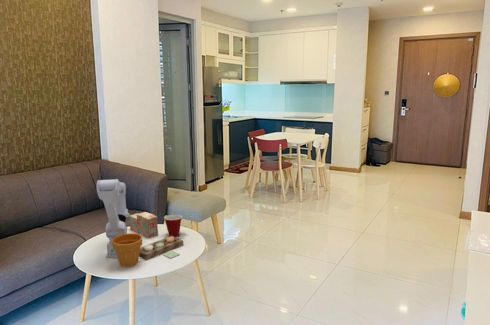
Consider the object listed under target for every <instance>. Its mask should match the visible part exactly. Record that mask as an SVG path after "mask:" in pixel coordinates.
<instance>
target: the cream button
mask: <svg viewBox="0 0 490 325" xmlns="http://www.w3.org/2000/svg"><path fill="white" fill-rule="evenodd" d="M143 246H144V251H146V252H149V251H152V250H153V245H148V244H146V245H143Z"/></svg>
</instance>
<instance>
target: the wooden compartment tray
mask: <svg viewBox="0 0 490 325" xmlns="http://www.w3.org/2000/svg"><path fill="white" fill-rule="evenodd" d="M170 237H174V236H170ZM166 238H167V237H165V238H162V239H160V240H156V241H154V242H152V243H149V244H147V245H153V250H152V251H149V252H146V251H144V246H145V245H142V246H141V247H140V254H139V258H141V259H143V260H145V261H149V260H151V259H154V258H156V257H159V256H161V255H164V254H166V253H169V252H171V251H174V250H176V249H178V248H180V247H182V246H184V240H183V239H181V238H178V237H174V242H172V243H167V242H166ZM159 242H162V243H164V246H162V247H159V248H158V247H156V243H159Z"/></svg>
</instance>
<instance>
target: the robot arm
mask: <svg viewBox="0 0 490 325" xmlns="http://www.w3.org/2000/svg"><path fill="white" fill-rule="evenodd" d="M126 189H127V186H126V183H124V182H121V181H120V180H119V179H118V178H116V179H114V178H113V179H98V180H97V181H96V194H97V196H98V199H99V200H101V201H102V202H103V204H104V208H105V212H106V215H107V219H108V222H107V223H106V225H105V237H106V238H107V239H108V240H109V242H108V243H107V244H106V251H107V255H106V258H111V259H118V257H117V254H116V251H115V250H114V249H113V246H112V240H113V239H114V238H115V237H117V236H119V235H123V234H128V227H127V225H126V220H127V218H129V217H130V215H131V213H129V212H128V211H129V209H128V208H127V204H126Z"/></svg>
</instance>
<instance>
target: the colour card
mask: <svg viewBox="0 0 490 325" xmlns="http://www.w3.org/2000/svg"><path fill="white" fill-rule="evenodd" d="M162 255H163V257H165V258H167V259H173V258H176V257H178V256H180V255H181V254H180V253H178V252H177V251H174V250H171V251H168V252H166V253H163V254H162Z"/></svg>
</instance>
